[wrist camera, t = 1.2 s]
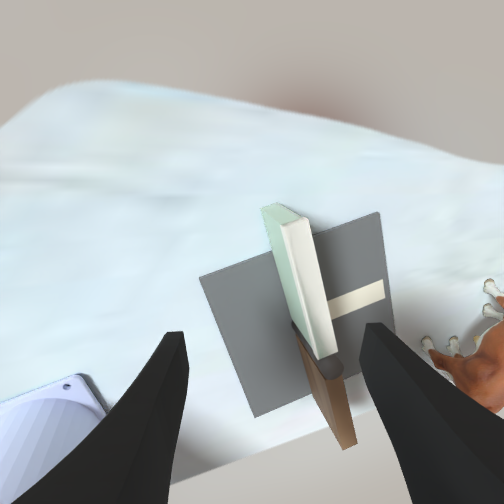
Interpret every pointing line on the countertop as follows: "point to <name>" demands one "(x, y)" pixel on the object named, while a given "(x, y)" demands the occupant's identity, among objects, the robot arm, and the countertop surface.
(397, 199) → the countertop surface
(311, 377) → the fence section
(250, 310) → the board
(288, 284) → the fence gate
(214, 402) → the countertop surface
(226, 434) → the countertop surface
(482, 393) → the bull figurine
